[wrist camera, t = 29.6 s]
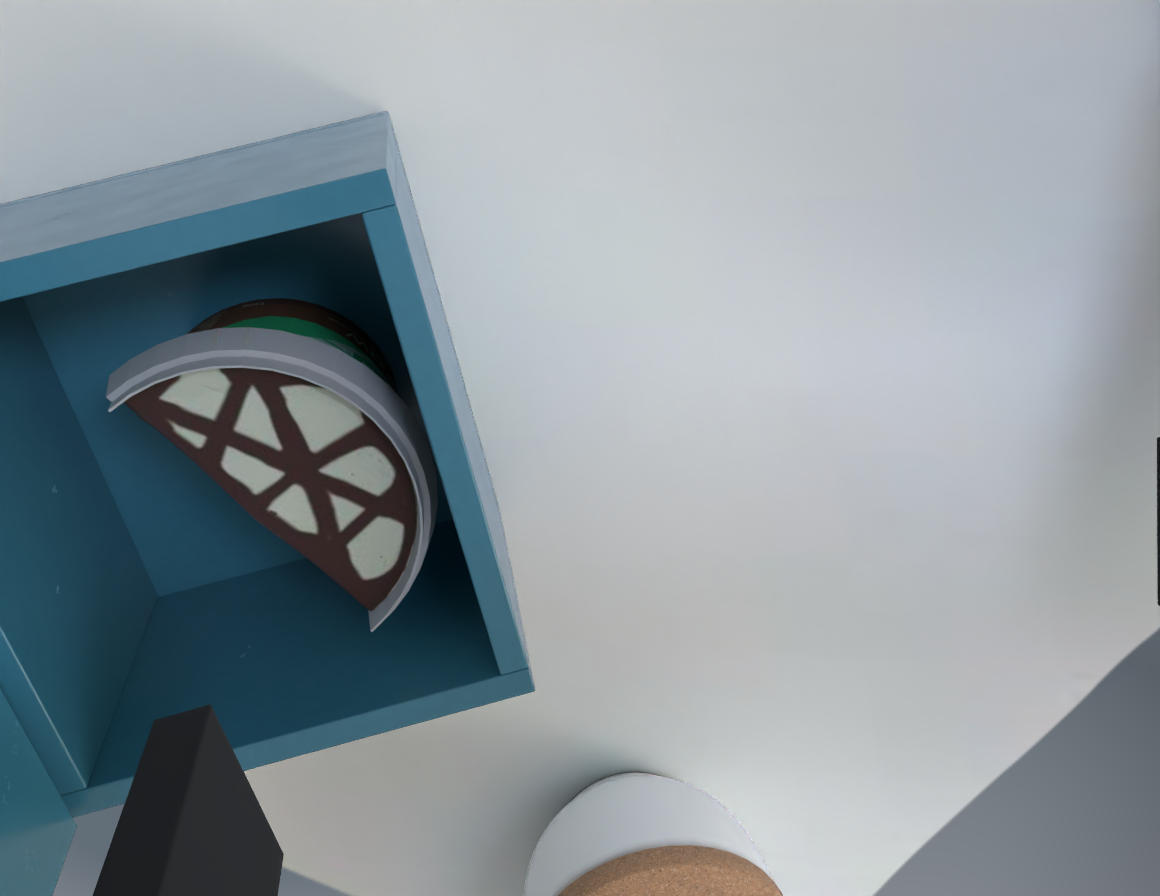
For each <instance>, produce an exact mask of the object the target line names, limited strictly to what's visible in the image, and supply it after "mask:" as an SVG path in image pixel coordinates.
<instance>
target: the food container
mask: <svg viewBox="0 0 1160 896" xmlns="http://www.w3.org/2000/svg"><path fill="white" fill-rule="evenodd" d="M106 398H108V399H109V400H110V401H111V402H112V403H111V405H110V407H109V409H108V411H109V412H111V411H112V410H114V409H115V408H116V407H118V406H119V405H120V404H122V403H123V402H124V403H125V404H126V405H127V406H128V407H129V408H130V409H131V410H133V411H134V412H135V413H136V414H137V415H138V417H139V418H140V419H141V420H143V421H145V422H146V423H148V424H149V425H151V426H152V427H154V428H155V429H156V430H157V431H159V432H160V433H161V434H162V435H164V436H165V437H166V438H167V439H168V440H169V441H171V442H172V443H173V444H174V445H175V446H176V447H178V448H179V449H180V450H181V451H182V452H183V453H184V454H186V455H187V456H188V457H189V458H190V459H191V460H192V461H193V462H195V463H196V464H197V465H198V466H199V467H200V468H201V469H202V470H203V471H204V472H206V473H207V474H208V475H209V476H210V477H211V478H212V479H213V480H214V481H215V482H216V483H217V484H218V485H219V486H220V487H221V488H222V489H223V490H224V491H225V492H226V493H227V494H229V495H230V496H231V497H232V498H233V499H234V500H235V501H236V502H237V503H238V504H239V505H240V506H241V507H242V508H243V509H244V510H246V511H247V512H248V513H249V514H250V515H251V516H252V517H253V518H254V519H255V520H257V521H258V522H259V523H261V524H262V525H263V526H265V527H266V528H267V529H269V530H270V531H271V532H272V533H274V534H275V535H277V536H278V537H279V538H281V539H282V540H284V541H285V542H286V543H288V544H289V545H290V546H292V547H293V548H294V549H296V550H297V551H298V552H300V553H301V554H302V555H303V556H305V557H306V558H307V559H309V560H310V561H311V562H312V563H314V564H315V565H316V566H317V567H318V568H320V569H321V570H322V571H323V572H324V573H325V574H327V575H328V576H329V577H330V578H331V579H333V580H334V581H335V582H336V583H337V584H339V585H340V586H341V587H342V588H343V589H344V590H346V591H347V592H348V593H349V594H350V595H352V596H353V597H354V598H355V599H356V600H357V601H359V602H360V603H361V604H362V605H363V606H364V607H366V608H367V609H368V611H369V621H370V631H371V632H373V631H374V630H375V629H376V628H377V627H378V626H379V625H380V624H381V623H382V622H383V621H384V620H385V619H386V618H387V617H388V616H389V615H390V614H391V613H392V612H393V611H394V610H395V608H396V607H397V606H398V604H399V603H400V602H401V601H402V599H403V598H404V597H405V595H406V594H407V593H408V591H409V590H410V588H411V586H412V584H413V582H414V580H415V578H416V576H417V574H418V572H419V571H420V568H421V566H422V563H423V560H424V558H425V555H426V552H427V549H428V546H429V543H430V540H431V537H432V534H433V530H434V527H435V520H436V512H437V505H438V496H437V477H436V472H435V468H434V463H433V459H432V454H431V451H430V449H429V446H428V444H427V441H426V439H425V436H424V434H423V432H422V429H421V427H420V426H419V424H418V423H417V421H416V419H415V418H414V416H413V415H412V413H411V411H410V410H409V408H408V407H407V405H406V404H405V403H404V402H403V401H402V399H401V398H400V397H399V396H398V393H397V389H396V385H395V380H394V376H393V372H392V370H391V368H390V367H389V365H388V363H387V361H386V359H385V358H384V356H383V354H382V352H381V350H380V349H379V347H378V346H377V345H376V344H375V343H374V341H373V340H372V339H371V338H370V337H369V336H368V334H367V333H365V332H364V331H363V330H362V329H361V328H359V327H358V326H357V325H356V324H355V323H354V322H352V321H350V320H349V319H347V318H346V317H344V316H342V315H341V314H339V313H337V312H335V311H333V310H330V309H328V308H326V307H323V306H321V305H318V304H314V303H310V302H306V301H302V300H295V299H285V298H271V299H258V300H253V301H248V302H243V303H239V304H236V305H234V306H231V307H228V308H225V309H223V310H221V311H219V312H217V313H215V314H213V315H212V316H210V317H208V318H206V319H205V320H203V321H202V322H201V323H199V324H198V325H197V326H196V327H194V328H193V329H192V330H191V331H189V332H188V333H187V334H186V335H183V336H180V337H177V338H174V339H172V340H169V341H166V342H163V343H160V344H157V345H156V346H154V347H152V348H150V349H148V350H146V351H144V352H143V353H141V354H139V355H137V356H135V357H133V358H132V359H130V360H129V361H127V362H126V363H125V364H123V365H122V366H121V367H120V368H118V369H117V370H116V371H114V372H113V373H112V374H111V375H109V381H108V387H107V393H106Z"/></svg>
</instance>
